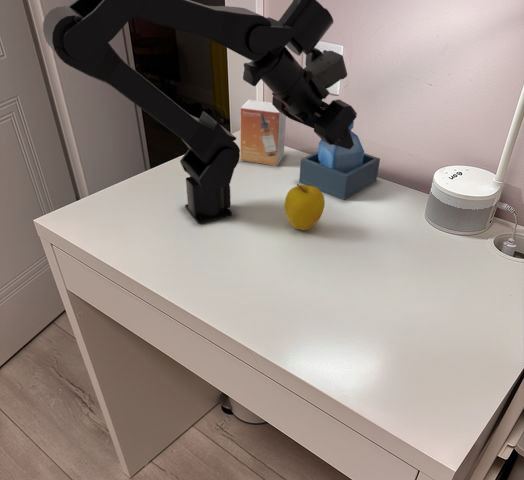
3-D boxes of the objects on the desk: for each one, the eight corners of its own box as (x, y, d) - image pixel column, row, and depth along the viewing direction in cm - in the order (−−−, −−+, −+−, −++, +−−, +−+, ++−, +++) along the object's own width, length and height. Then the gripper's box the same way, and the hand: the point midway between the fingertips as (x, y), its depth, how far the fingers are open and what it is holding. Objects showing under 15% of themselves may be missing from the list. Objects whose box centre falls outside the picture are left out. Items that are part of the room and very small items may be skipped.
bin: (344, 200, 97) (347, 176, 94) (299, 182, 102) (300, 158, 99) (376, 181, 103) (380, 158, 100) (332, 165, 108) (334, 142, 105)
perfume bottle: (344, 170, 105) (352, 106, 97) (359, 183, 101) (368, 118, 93) (316, 174, 104) (321, 110, 96) (329, 188, 99) (336, 122, 91)
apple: (275, 228, 90) (277, 183, 84) (300, 214, 93) (303, 170, 88) (305, 242, 86) (308, 196, 81) (329, 228, 90) (334, 183, 84)
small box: (239, 161, 109) (239, 107, 102) (248, 150, 113) (248, 98, 106) (277, 166, 108) (279, 112, 100) (284, 155, 111) (287, 102, 104)
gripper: (354, 49, 77) (400, 117, 88) (290, 22, 89) (338, 85, 101) (303, 113, 80) (355, 171, 91) (248, 79, 92) (299, 134, 103)
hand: (336, 137), depth 96 cm, fingers open, 9 cm apart
